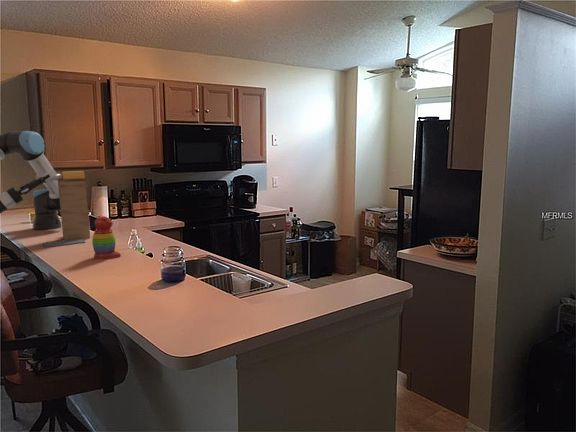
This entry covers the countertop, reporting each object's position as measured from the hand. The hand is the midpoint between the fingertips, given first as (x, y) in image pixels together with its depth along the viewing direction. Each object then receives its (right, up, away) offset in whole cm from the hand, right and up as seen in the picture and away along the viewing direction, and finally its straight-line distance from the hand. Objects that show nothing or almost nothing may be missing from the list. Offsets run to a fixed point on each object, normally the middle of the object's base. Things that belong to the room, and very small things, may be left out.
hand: (55, 171), depth 239 cm
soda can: (+5, -32, +22) cm, 39 cm away
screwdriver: (+3, -5, +2) cm, 6 cm away
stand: (+7, -34, +9) cm, 36 cm away
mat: (+6, -36, -3) cm, 37 cm away
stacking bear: (+38, -40, -32) cm, 64 cm away
